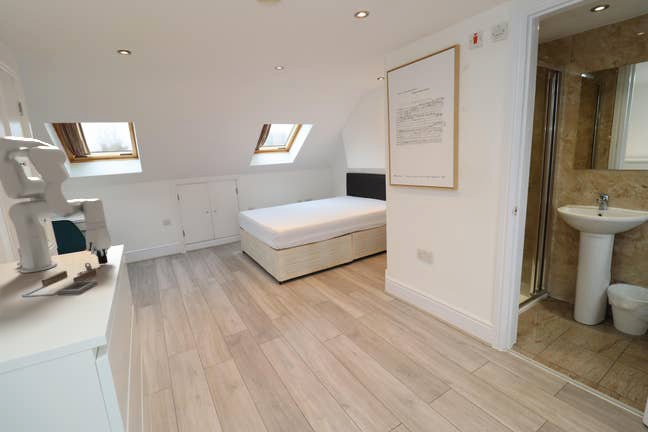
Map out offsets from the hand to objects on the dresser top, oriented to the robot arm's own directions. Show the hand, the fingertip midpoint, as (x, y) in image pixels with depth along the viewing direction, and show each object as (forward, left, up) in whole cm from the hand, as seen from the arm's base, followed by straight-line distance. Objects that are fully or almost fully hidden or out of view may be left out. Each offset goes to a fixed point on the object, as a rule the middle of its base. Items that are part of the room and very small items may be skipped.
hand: (103, 263), depth 142 cm
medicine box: (-42, +9, -1) cm, 42 cm away
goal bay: (0, -29, -1) cm, 29 cm away
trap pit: (+11, -30, -1) cm, 32 cm away
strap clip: (0, -9, -1) cm, 9 cm away
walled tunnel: (0, -19, -1) cm, 19 cm away
